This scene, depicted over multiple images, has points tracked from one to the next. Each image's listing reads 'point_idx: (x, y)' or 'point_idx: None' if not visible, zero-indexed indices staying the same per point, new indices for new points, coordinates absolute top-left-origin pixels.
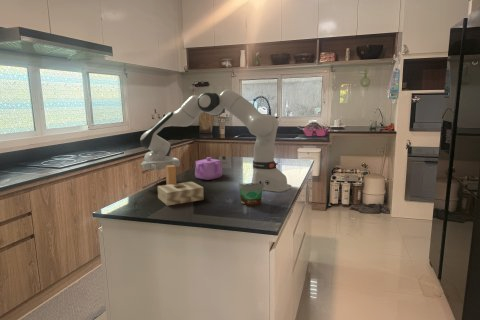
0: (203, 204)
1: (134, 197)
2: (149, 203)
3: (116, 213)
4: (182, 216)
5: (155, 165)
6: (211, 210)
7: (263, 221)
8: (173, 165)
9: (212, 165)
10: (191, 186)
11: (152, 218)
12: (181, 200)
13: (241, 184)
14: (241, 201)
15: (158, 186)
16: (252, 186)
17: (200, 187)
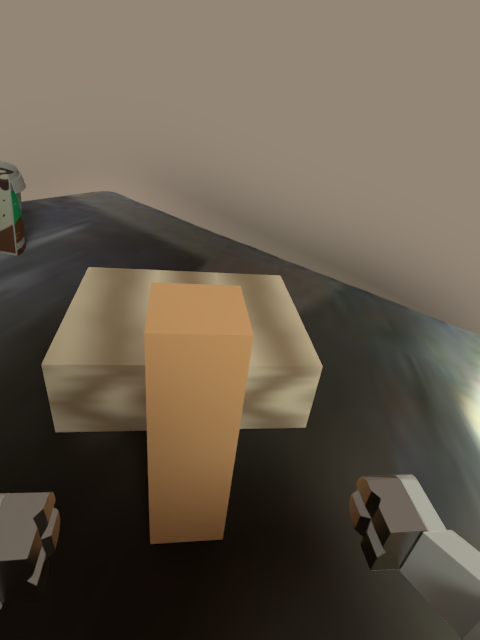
0: None
1: (475, 508)
2: (349, 373)
3: (460, 335)
4: (243, 260)
5: (415, 496)
6: (146, 257)
7: (89, 203)
8: (154, 312)
9: None
10: (129, 293)
11: (327, 276)
12: None
13: (16, 172)
14: (20, 243)
15: (315, 357)
16: (2, 166)
17: (100, 270)
